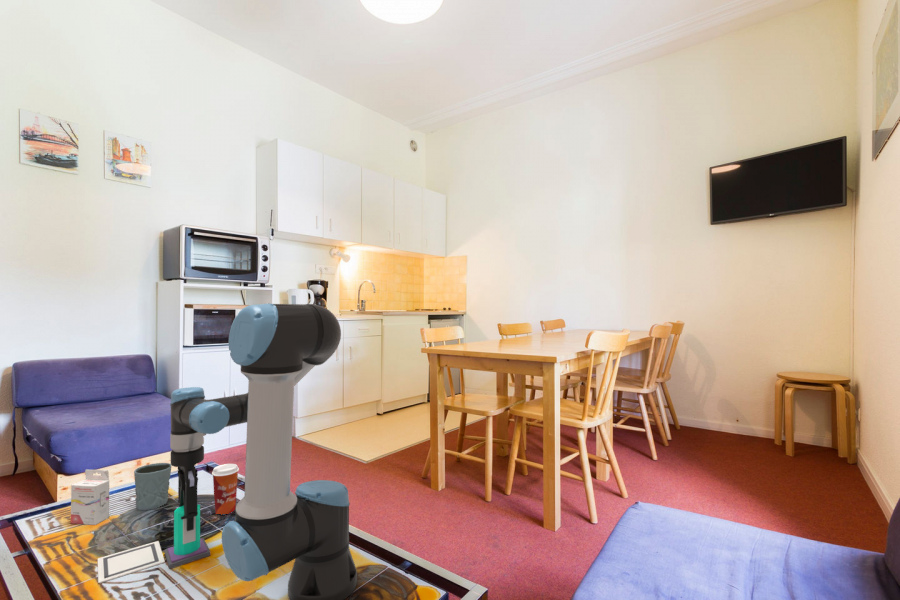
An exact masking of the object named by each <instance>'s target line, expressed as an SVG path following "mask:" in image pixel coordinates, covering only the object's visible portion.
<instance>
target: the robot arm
mask: <svg viewBox="0 0 900 600" xmlns="http://www.w3.org/2000/svg"><path fill="white" fill-rule="evenodd" d="M232 321H233V322H232V324H231V326H230V331H229V334H228V350H229V351H230V352H229V353H230V357H231V360H232V361H233V362H234V363H235V364H236V365H238V366H240V373H241V374H242V375H243V376H245V377H246V378H247V380H248V386H247V387H248V388H247V389H248V391H247V393H242V394H235V395H231V396H224V397H217V398H213V399H206V396H205V390H204V388H202V387H200V386H192V387H183V388H177V389H174V390H173V391H172V392H171V394H170V395H171V396H170V404H169V406H170V437H169V438H170V439H169V440H170V449H171V451H170V464H171V465H172V466H171V467H175V468H177V477H178V480H177V481H178V484H177V486H178V488H177V491H178V492H177V494H178V495H177V504H178V508H179V507H181V506H183V505H184V516H182V517H181V520H182V519H183V544H186V543H189V542H192V541H196V516H197V514H198V512H197V505H198V483H199V477H198V469H196V465H197V464H200V463H202V462H203V461H204V459H205V447H204V446H203V445H204V443H205V439H204V437H205V436H206V435H214V434H217V433H219V432H220V431H222V430H223V429H225V428H227V427H231V426H236V425H241V424H246V439H245V440H246V443H245V444H246V445H245V447H246V448H245V467H244V471H245V473H244V474H245V475H244V496H243V497H242V498H241V499H240V500H239V501H238V502H237V503H236V508H235V512H234V513H235V514H234V515H235V517H234V518H235V519H233V520H230V521H228V522H227V523H226V524H225V525H224V526H223V528H222V531H221V546H222V549H223V553H224V556H225V559H226V561H227V563H228V566H229V568H230V570H231V571H232V572H233V574H234V575H235V576H236V578H238V579H239V580H241V581H244V582H252V581H253V580H257V579H258V578H260V577H263V576H267V575H268V574H269V573H271V572H272V571H275V570H276V569H279V568H280V567H283V566H285V565H286V564H288V563H290V562H293V561H294V562H293V566H292V570H291V573H290V575H289V579H288V582H287V597H288V600H345V599H347V598H348V597H349V596H350V595H351V594H352V593H353V592H354V591H355V589H356V586H357V584H358V572H357V567H356V563H355V562H354V558H353V555H352V553H351V550H350V536H349V535H350V503H351V502H350V500H349V499H350V496H349V491H348V487H346V485H345V484H343V483H341V482H339V481H335V480H327V479H326V480H325V479H320V480H319V479H318V480H310V481H305V482H302V483H300V484H299V485H297V486H296V489H295V491H294V493H293V492H292V491H291V472H292V451H293V450H292V447H293V442H292V441H293V423H294V422H293V420H294V419H293V418H294V398H295V397H294V394H295V391H294V390H295V386H296V385H298V383H299V382H301V380H303V379H304V377H306V376H307V375H308V373H310V372H311V370H313V369H314V368H315V367H317V366H321V365H323V364H324V363H326V362H327V361H328V360H329V359H330V358H331V357H332V356H333V355H334V353H335V352H336V351H337V349H338V348H339V346H340V342H341V339H342V338H341V337H342V329H341V326H340V323H339V321H338V318H337V317H336V316H335V314H334V313H333V312H331V310H330V309H328V308H326V307H324V306H322V305H319V304H314V303H313V304H312V303H305V304H303V303H300V304H298V303H296V304H295V303H270V302H269V303H260V304H251V305H249V304H248V306H245V307H244V308H242V309H240V311H239V312H238V313H237V315H236V316H235V317H234V319H233V320H232Z"/></svg>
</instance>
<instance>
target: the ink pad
mask: <svg viewBox="0 0 900 600" xmlns="http://www.w3.org/2000/svg"><path fill="white" fill-rule="evenodd" d="M164 553H165V554H164V558H165V559H166V562H167V563H166V564H167V566H168V569H170V570H171V569H174V568H176V567H180V566H182V565H186V564H189V563H192V562H194V561H198V560H200V559H204V558H206V557H210V556H211V550H210V547H209V546H208V544H207V542H206V540H205V538H204V537H200V547H199V549H198V550H196V551H194V552H192V553H190V554H186V555H176V554H174V545H173V546H171V547H167V548H166V549H164Z"/></svg>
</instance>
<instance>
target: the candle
mask: <svg viewBox="0 0 900 600" xmlns="http://www.w3.org/2000/svg"><path fill="white" fill-rule="evenodd" d="M173 512H174V513H173V546H174V554H176V555H186V554H190V553H192V552H194V551H196V550H198V549H199V547H200V538H201V504H197V512H198V514H197V516H196V541H192V542H189V543H186V544H183V519H182V520H181V517H182V516H184V505H183V506H181V507H179V506H178V507H177V508H176V509H174V510H173Z"/></svg>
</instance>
